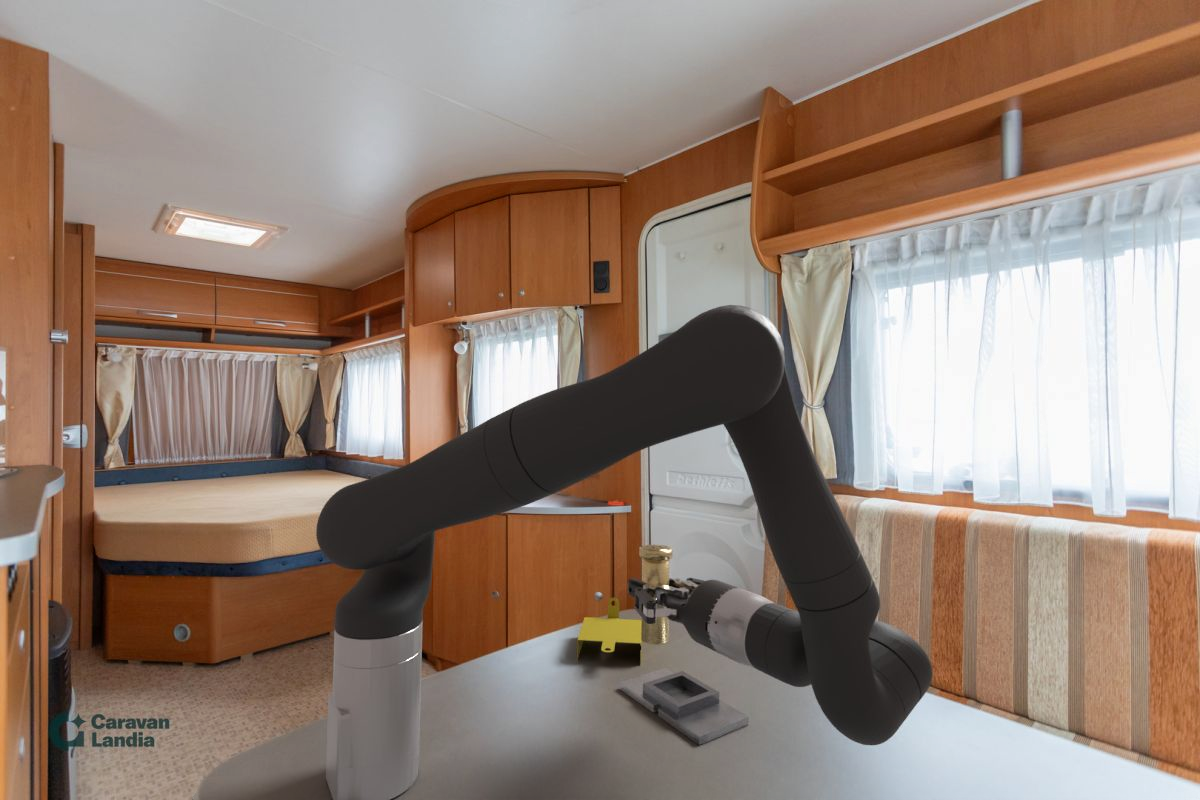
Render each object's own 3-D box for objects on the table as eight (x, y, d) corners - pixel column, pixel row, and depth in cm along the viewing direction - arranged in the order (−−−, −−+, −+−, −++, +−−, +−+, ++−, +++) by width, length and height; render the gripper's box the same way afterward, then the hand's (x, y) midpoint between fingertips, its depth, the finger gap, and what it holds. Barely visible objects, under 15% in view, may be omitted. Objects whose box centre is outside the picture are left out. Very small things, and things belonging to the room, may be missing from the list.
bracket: (558, 626, 92) (571, 595, 107) (557, 675, 92) (570, 638, 107) (657, 631, 91) (656, 599, 106) (656, 681, 91) (655, 642, 106)
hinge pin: (652, 648, 74) (653, 554, 75) (631, 636, 78) (632, 547, 78) (678, 641, 77) (679, 549, 77) (657, 630, 80) (658, 543, 81)
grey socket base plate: (699, 745, 73) (699, 725, 73) (619, 688, 87) (619, 671, 87) (748, 724, 78) (748, 705, 78) (665, 674, 92) (665, 658, 92)
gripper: (777, 580, 70) (681, 549, 84) (688, 599, 62) (599, 562, 76) (777, 643, 69) (680, 602, 84) (687, 670, 62) (598, 620, 76)
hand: (642, 583), depth 80 cm, fingers closed on hinge pin, 3 cm apart
